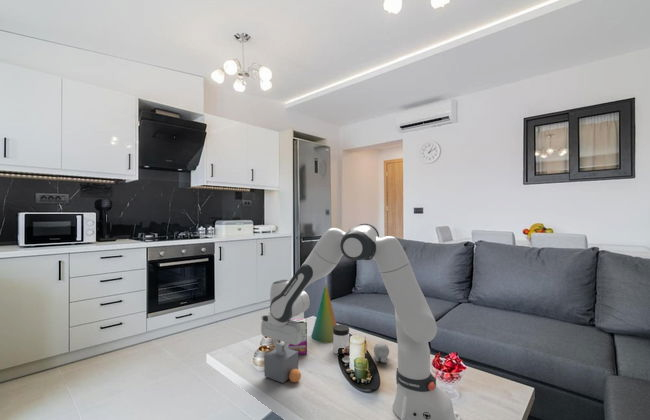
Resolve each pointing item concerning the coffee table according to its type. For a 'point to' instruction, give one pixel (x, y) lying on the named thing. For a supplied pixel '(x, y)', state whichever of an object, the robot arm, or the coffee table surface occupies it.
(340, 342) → the jar
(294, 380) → the ball
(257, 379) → the coffee table surface
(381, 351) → the chubby cartoon animal
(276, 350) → the grey faceted cube
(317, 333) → the decorative cone
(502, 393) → the coffee table surface
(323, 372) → the coffee table surface
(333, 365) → the coffee table surface
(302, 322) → the candy bar box
